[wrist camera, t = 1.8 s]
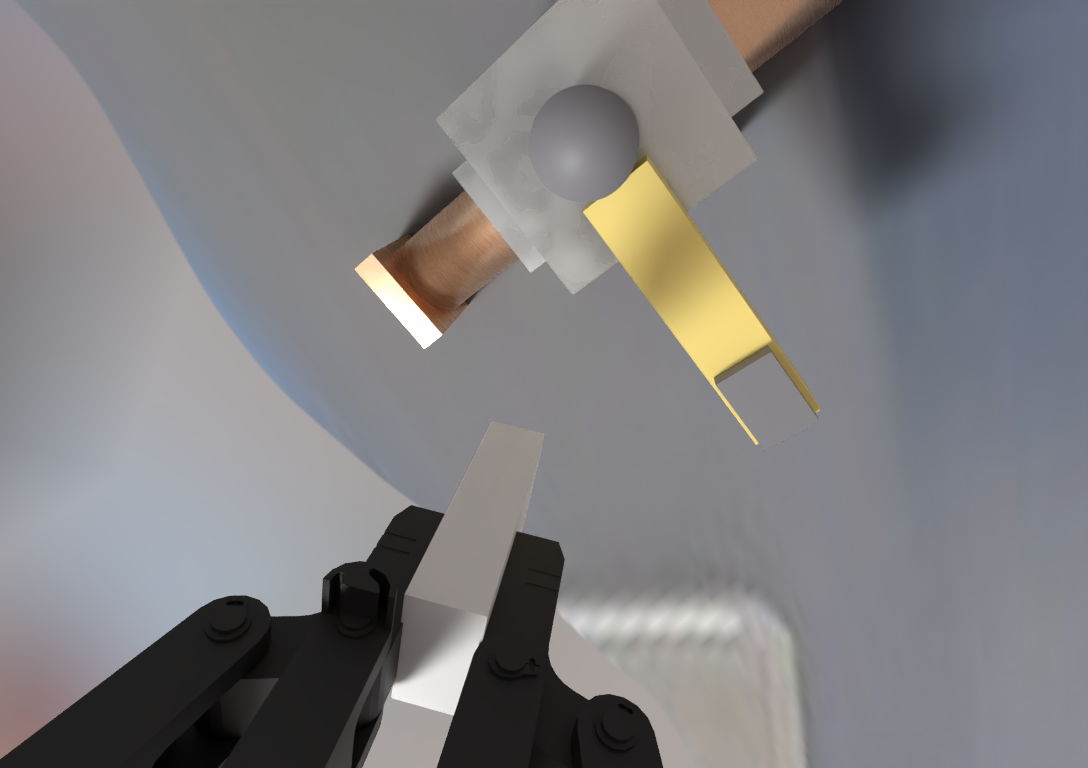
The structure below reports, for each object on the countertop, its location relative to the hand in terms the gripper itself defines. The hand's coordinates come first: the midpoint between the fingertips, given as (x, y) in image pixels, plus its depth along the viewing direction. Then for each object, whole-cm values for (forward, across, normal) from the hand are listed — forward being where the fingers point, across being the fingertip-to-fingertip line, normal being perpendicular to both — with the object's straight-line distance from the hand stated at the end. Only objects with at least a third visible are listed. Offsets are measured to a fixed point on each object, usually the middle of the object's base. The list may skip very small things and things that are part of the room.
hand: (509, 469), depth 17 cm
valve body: (+17, 0, +8) cm, 19 cm away
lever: (+8, +4, +5) cm, 11 cm away
